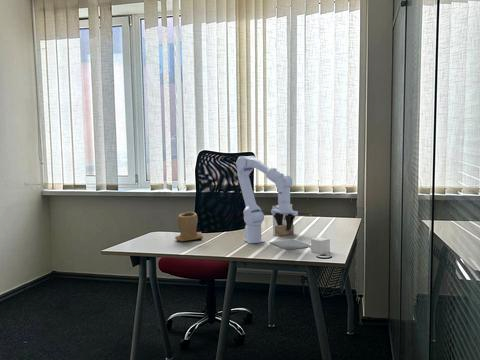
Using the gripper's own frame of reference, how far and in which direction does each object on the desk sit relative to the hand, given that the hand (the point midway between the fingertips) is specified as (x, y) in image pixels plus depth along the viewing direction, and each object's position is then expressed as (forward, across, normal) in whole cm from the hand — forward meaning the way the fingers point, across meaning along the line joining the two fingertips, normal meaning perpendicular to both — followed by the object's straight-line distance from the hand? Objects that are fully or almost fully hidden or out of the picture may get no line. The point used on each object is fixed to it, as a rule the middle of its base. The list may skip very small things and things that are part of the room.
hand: (284, 229), depth 219 cm
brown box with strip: (+2, 0, 0) cm, 2 cm away
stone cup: (+9, -49, -17) cm, 53 cm away
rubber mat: (+8, 0, +4) cm, 9 cm away
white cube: (+9, +20, +1) cm, 21 cm away
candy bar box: (+9, -20, +24) cm, 32 cm away
